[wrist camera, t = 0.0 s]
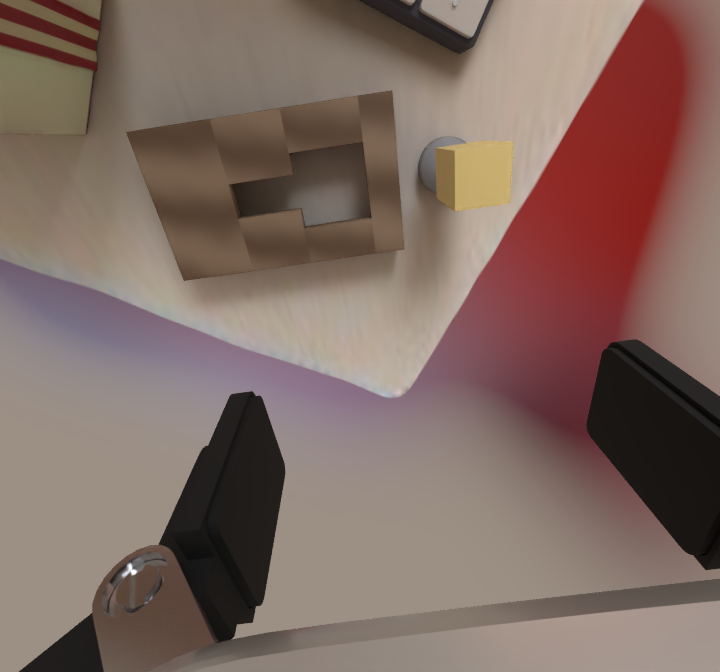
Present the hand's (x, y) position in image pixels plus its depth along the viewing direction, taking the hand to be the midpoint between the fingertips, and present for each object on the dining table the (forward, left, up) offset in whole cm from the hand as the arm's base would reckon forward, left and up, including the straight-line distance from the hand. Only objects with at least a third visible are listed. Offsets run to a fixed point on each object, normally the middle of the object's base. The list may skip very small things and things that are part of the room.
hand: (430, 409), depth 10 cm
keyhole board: (-3, -8, -31) cm, 32 cm away
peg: (-3, +8, -31) cm, 32 cm away
